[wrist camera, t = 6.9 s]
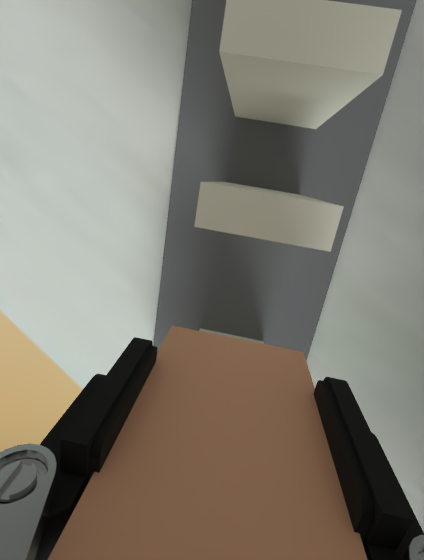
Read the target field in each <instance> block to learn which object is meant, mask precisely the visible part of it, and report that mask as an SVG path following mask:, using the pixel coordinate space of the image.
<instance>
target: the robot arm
mask: <svg viewBox="0 0 424 560" xmlns="http://www.w3.org/2000/svg"><path fill="white" fill-rule="evenodd" d="M156 359H157V347H156V346H152V341H150V340H145V339H140V338H133V340H132V341H131V342H130V344H129V345H128V346H127V348H126V349H125V351H124V352H123V353H122V355H121V356H120V357H119V359H118V360H117V362H116V363H115V364H114V366H113V367H112V368H111V370H110V371H109V373H108V374H107V375H101V374H96V375H95V376H94V377H93V378H92V379H91V380H90V382H89V383H88V384H87V385H86V387H85V388H84V389H83V390H82V392H81V393H80V394H79V396H78V397H77V398H76V399H75V401H74V402H73V403H72V404H71V406H70V407H69V409H67V411H66V412H65V413H64V414H63V416H62V417H61V418H60V420H59V421H58V422H57V423H56V425H55V426H54V427H53V428H52V430H51V431H50V432H49V433H48V435H47V436H46V437H45V439H44V440H43V441H42V442H41V444H40V445H37V444H24V445H17V446H14V447H12V448H9V449H6V450H4V451H2V452H0V560H48V558H49V556H50V554H51V553H52V551H53V549H54V547H55V545H56V543H57V541H58V539H59V537H60V536H61V534H62V532H63V530H64V528H65V526H66V524H67V522H68V520H69V519H70V517H71V515H72V513H73V511H74V509H75V507H76V505H77V504H78V502H79V500H80V498H81V496H82V494H83V492H84V490H85V488H86V487H87V485H88V483H89V481H90V479H91V477H92V475H93V473H94V472H98V473H99V472H100V470H101V468H102V467H103V465H104V463H105V461H106V459H107V457H108V455H109V453H110V451H111V449H112V447H113V445H114V443H115V441H116V439H117V437H118V435H119V433H120V431H121V429H122V427H123V425H124V423H125V421H126V420H127V418H128V416H129V414H130V412H131V410H132V408H133V406H134V404H135V402H136V400H137V398H138V396H139V394H140V392H141V390H142V388H143V386H144V384H145V382H146V380H147V378H148V376H149V374H150V373H151V371H152V369H153V367H154V365H155V363H156ZM314 398H315V401H316V405H317V408H318V411H319V415H320V418H321V421H322V425H323V428H324V432H325V435H326V438H327V442H328V445H329V448H330V452H331V455H332V459H333V462H334V465H335V469H336V472H337V476H338V479H339V482H340V486H341V489H342V492H343V496H344V499H345V503H346V506H347V509H348V513H349V516H350V519H351V523H352V526H353V530H354V532H356V533H360V537H361V540H362V543H363V546H364V550H365V553H366V556H367V559H368V560H424V533H423V531H422V529H421V527H420V525H419V523H418V521H417V519H416V517H415V515H414V513H413V510H412V508H411V506H410V504H409V502H408V500H407V498H406V496H405V494H404V492H403V490H402V488H401V486H400V484H399V482H398V480H397V478H396V476H395V474H394V472H393V470H392V468H391V466H390V464H389V462H388V460H387V457H386V455H385V453H384V451H383V449H382V447H381V445H380V443H379V441H378V439H377V438H376V436H375V435H374V434H373V433H371V431H370V429H369V427H368V425H367V422H366V420H365V418H364V416H363V414H362V412H361V410H360V408H359V406H358V404H357V402H356V400H355V397H354V395H353V393H352V391H351V389H350V387H349V385H348V383H347V382H346V381H344V380H340V379H335V378H330V377H326V378H325V379H324V381H321V380H319V381H318V382H317V385H316V388H315V391H314Z"/></svg>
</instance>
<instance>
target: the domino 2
mask: <svg viewBox="0 0 424 560" xmlns="http://www.w3.org/2000/svg"><path fill="white" fill-rule="evenodd" d="M343 208H344V206H340V205H336V204H333V203H329V202H325V201H322V200H318V199H314V198H310V197H307V196H303V195H299V194H293V193H287V192H282V191H276V190H270V189H264V188H258V187H252V186H247V185H241V184H235V183H229V182H201V183H200V190H199V197H198V204H197V211H196V218H195V225H194V227H198V228H204V229H209V230H214V231H220V232H225V233H231V234H236V235H242V236H247V237H253V238H258V239H264V240H269V241H275V242H280V243H286V244H291V245H297V246H302V247H307V248H313V249H318V250H324V251H329V252H331V249H332V245H333V242H334V238H335V235H336V232H337V228H338V225H339V221H340V218H341V215H342V211H343Z"/></svg>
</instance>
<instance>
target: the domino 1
mask: <svg viewBox="0 0 424 560" xmlns="http://www.w3.org/2000/svg"><path fill="white" fill-rule="evenodd" d="M401 12H402V10H398V9H391V8H383V7H375V6H368V5H360V4H352V3H344V2H337V1H329V0H226V7H225V14H224V21H223V28H222V35H221V42H220V49H219V53H220V57H221V61H222V65H223V69H224V73H225V77H226V81H227V85H228V89H229V93H230V97H231V101H232V106H233V110H234V114H235V117H241V118H248V119H254V120H261V121H267V122H273V123H280V124H286V125H292V126H299V127H305V128H311V129H317V128H318V127H319V126H320V125H322V124H323V123H324V122H325V121H327V120H328V119H329V118H330V117H332V116H333V115H334V114H335V113H337V112H338V111H339V110H340V109H341V108H343V107H344V106H345V105H346V104H348V103H349V102H350V101H351V100H353V99H354V98H355V97H356V96H358V95H359V94H360V93H361V92H362V91H364V90H365V89H366V88H367V87H369V86H370V85H371V84H372V83H374V82H375V81H376V80H377V79H379V78H380V77H381V76H382V75H383V73H384V69H385V66H386V63H387V59H388V56H389V52H390V49H391V46H392V42H393V39H394V36H395V32H396V29H397V25H398V22H399V19H400V15H401Z"/></svg>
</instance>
